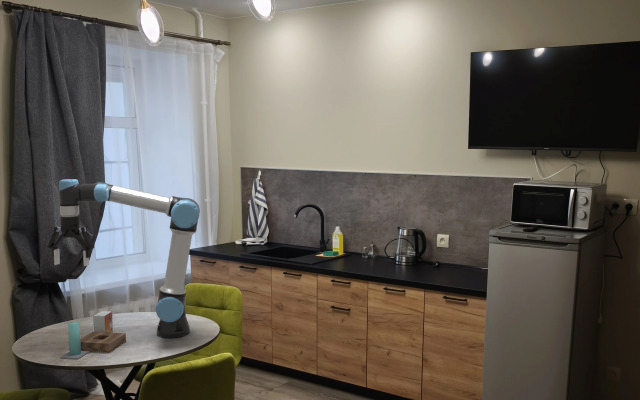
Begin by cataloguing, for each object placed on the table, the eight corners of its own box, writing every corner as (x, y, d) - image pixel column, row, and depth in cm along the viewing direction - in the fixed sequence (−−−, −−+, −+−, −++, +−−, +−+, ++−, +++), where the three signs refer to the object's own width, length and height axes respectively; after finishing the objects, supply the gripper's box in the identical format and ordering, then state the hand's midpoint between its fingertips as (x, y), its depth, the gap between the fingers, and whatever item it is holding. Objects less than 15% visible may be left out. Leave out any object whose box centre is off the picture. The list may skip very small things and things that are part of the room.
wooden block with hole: (126, 341, 251) (125, 333, 251) (109, 352, 238) (109, 343, 237) (93, 340, 254) (92, 331, 253) (75, 350, 240) (74, 341, 240)
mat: (88, 352, 238) (88, 351, 238) (78, 359, 230) (77, 358, 230) (71, 351, 239) (71, 350, 239) (60, 358, 231) (60, 356, 231)
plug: (83, 352, 237) (81, 321, 236) (77, 355, 232) (75, 325, 231) (73, 351, 237) (72, 321, 236) (67, 355, 233) (65, 324, 232)
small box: (105, 338, 256) (104, 315, 255) (93, 338, 257) (92, 315, 256) (113, 332, 264) (112, 311, 263) (101, 332, 265) (101, 310, 264)
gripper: (101, 215, 240) (103, 264, 242) (48, 214, 244) (50, 262, 246) (92, 217, 233) (93, 267, 235) (37, 216, 236) (39, 265, 238)
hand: (71, 264), depth 240 cm, fingers open, 13 cm apart
